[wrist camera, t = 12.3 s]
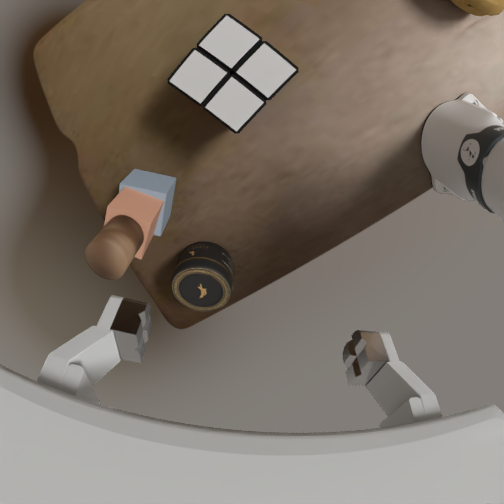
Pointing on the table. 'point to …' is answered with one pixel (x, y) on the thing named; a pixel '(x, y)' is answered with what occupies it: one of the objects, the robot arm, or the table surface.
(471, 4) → the pot
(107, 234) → the walnut cylinder
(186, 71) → the puzzle cube
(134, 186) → the base block
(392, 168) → the table surface
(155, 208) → the top block
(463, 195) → the robot arm
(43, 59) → the table surface
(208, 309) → the jar
